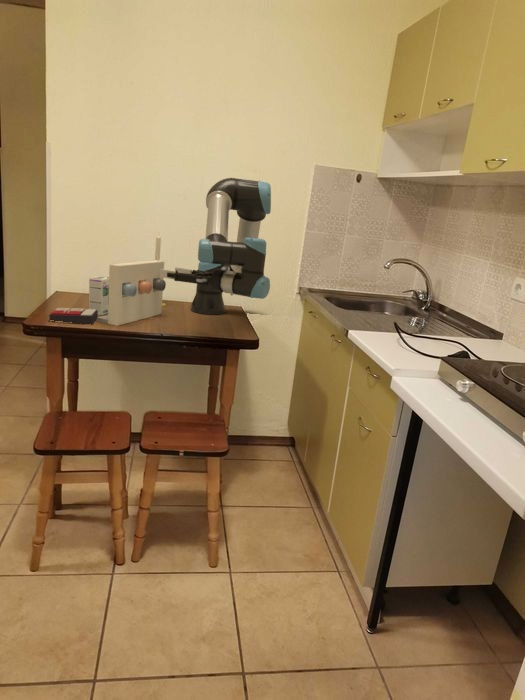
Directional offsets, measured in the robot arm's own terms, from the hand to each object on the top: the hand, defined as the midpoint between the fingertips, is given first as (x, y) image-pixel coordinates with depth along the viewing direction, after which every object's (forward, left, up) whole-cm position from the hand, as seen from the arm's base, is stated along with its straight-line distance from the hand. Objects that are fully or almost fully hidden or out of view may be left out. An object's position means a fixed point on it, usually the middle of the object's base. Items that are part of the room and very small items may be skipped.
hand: (168, 272), depth 182 cm
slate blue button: (0, -16, -11) cm, 20 cm away
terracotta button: (-10, -16, -11) cm, 22 cm away
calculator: (+9, -33, -23) cm, 41 cm away
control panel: (-10, -22, -22) cm, 33 cm away
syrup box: (-6, -34, -22) cm, 41 cm away
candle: (-40, -30, -22) cm, 55 cm away
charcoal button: (-20, -16, -11) cm, 28 cm away
